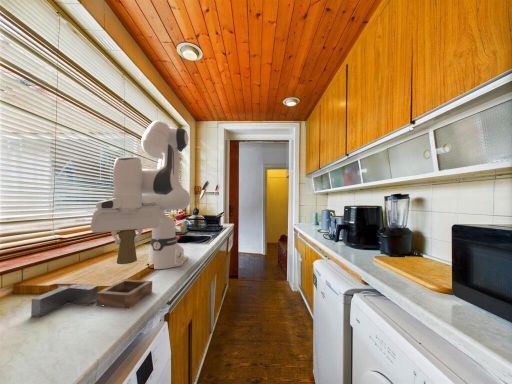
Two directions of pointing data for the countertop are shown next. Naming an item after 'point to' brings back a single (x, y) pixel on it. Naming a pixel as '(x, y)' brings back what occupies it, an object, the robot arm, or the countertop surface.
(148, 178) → the robot arm
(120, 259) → the cork
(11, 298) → the countertop surface
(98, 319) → the countertop surface
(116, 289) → the sleeve
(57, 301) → the v block
